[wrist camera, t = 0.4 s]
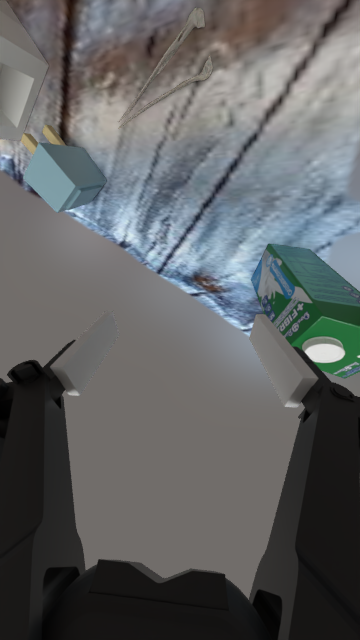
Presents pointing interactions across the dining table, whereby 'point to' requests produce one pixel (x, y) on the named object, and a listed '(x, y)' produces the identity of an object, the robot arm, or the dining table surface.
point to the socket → (17, 74)
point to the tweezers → (193, 21)
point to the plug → (61, 172)
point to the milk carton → (311, 307)
